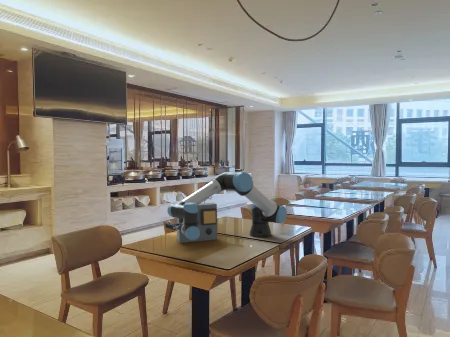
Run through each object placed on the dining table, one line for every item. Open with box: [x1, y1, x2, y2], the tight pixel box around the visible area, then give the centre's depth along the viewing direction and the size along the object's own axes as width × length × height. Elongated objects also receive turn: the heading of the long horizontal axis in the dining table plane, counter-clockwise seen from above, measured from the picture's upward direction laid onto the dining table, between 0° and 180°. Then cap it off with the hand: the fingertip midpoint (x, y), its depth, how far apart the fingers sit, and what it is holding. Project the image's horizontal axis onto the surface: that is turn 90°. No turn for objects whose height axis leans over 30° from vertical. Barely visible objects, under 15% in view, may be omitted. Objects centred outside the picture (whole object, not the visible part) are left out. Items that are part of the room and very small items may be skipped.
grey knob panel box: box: [176, 202, 218, 244], centre depth 235 cm, size 10×26×24 cm, turn 108°
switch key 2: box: [203, 210, 216, 224], centre depth 232 cm, size 3×8×8 cm, turn 108°
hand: (179, 221), depth 218 cm, fingers open, 13 cm apart
